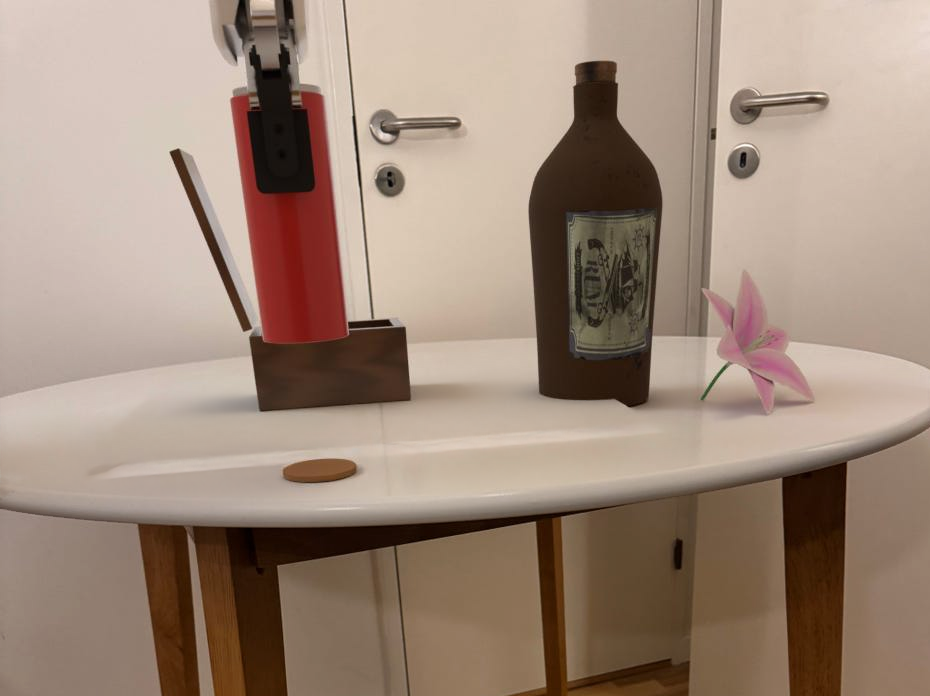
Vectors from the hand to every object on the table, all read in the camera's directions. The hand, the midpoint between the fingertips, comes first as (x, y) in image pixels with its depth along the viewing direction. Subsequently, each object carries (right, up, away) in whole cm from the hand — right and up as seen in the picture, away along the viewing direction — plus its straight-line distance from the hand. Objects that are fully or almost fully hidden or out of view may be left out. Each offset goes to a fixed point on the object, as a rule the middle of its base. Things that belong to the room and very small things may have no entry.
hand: (288, 190), depth 54 cm
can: (0, -7, +3) cm, 8 cm away
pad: (+1, -15, +7) cm, 17 cm away
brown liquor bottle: (+21, -6, +26) cm, 34 cm away
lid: (-10, +6, +22) cm, 25 cm away
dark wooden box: (-2, -6, +29) cm, 29 cm away
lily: (+33, -7, +21) cm, 40 cm away
